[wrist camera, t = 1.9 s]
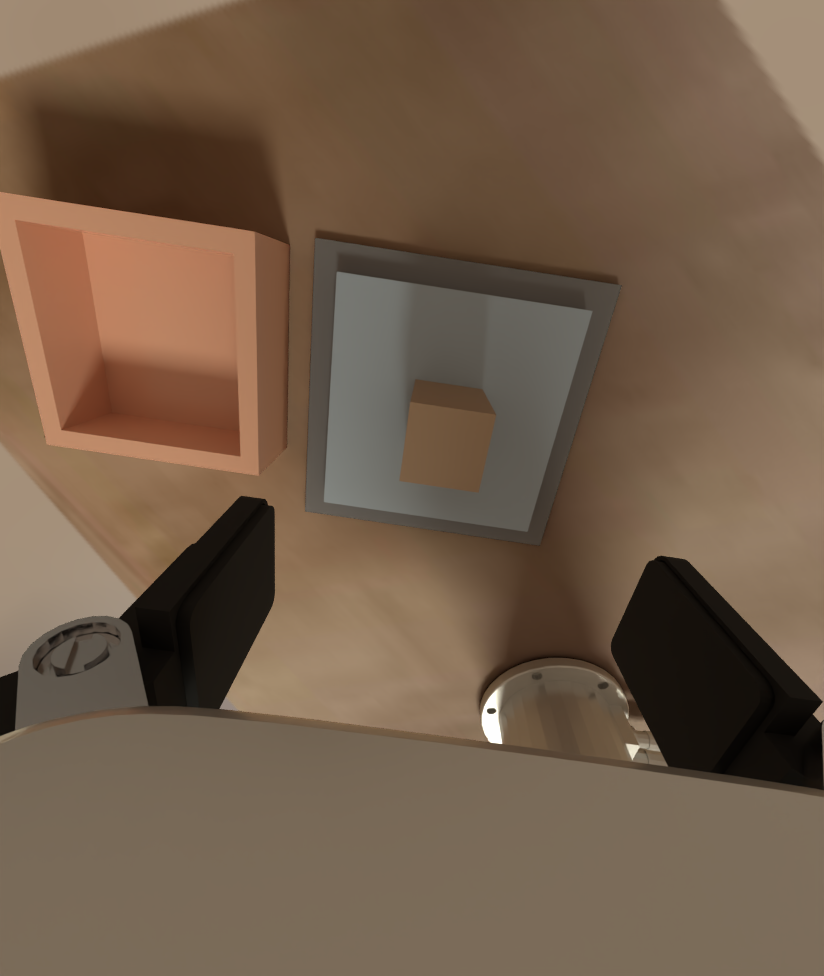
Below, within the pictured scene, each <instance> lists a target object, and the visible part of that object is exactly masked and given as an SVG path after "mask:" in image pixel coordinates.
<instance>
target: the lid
mask: <svg viewBox="0 0 824 976" xmlns="http://www.w3.org/2000/svg"><path fill="white" fill-rule="evenodd" d="M592 312H593V311H589V310H583V309H576V308H570V307H563V306H557V305H550V304H544V303H538V302H531V301H525V300H518V299H512V298H505V297H499V296H492V295H486V294H479V293H473V292H466V291H460V290H453V289H447V288H440V287H434V286H427V285H421V284H414V283H408V282H401V281H395V280H388V279H382V278H375V277H369V276H362V275H356V274H349V273H343V272H337V276H336V294H335V312H334V329H333V347H332V365H331V382H330V400H329V418H328V436H327V453H326V471H325V489H324V502H327V503H334V504H341V505H348V506H354V507H361V508H368V509H375V510H382V511H388V512H395V513H402V514H409V515H416V516H423V517H429V518H436V519H443V520H450V521H457V522H464V523H470V524H477V525H484V526H491V527H498V528H505V529H511V530H518V531H525V532H527V531H528V528H529V525H530V521H531V518H532V514H533V511H534V508H535V504H536V501H537V498H538V494H539V491H540V487H541V484H542V481H543V477H544V474H545V471H546V467H547V464H548V460H549V457H550V454H551V450H552V447H553V443H554V440H555V437H556V433H557V430H558V427H559V423H560V420H561V416H562V413H563V410H564V406H565V403H566V400H567V396H568V393H569V389H570V386H571V383H572V379H573V376H574V372H575V369H576V366H577V362H578V359H579V356H580V352H581V349H582V345H583V342H584V339H585V335H586V332H587V329H588V325H589V322H590V318H591V315H592Z"/></svg>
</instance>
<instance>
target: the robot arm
mask: <svg viewBox="0 0 824 976" xmlns="http://www.w3.org/2000/svg"><path fill="white" fill-rule="evenodd" d="M274 596H275V515H274V507H273V506H268V504H267V501H266V500H265V499H260V498H253V497H246V496H241V497H239V498H238V499H237V500H236V501H235V502H234V504H233V505H232V506H231V507H230V508H229V509H228V510H227V511H226V512H225V513H224V514H223V515H222V516H221V517H220V518H219V519H218V520H217V521H216V522H215V523H214V524H213V526H212V527H211V528H210V529H209V530H208V531H207V532H206V533H205V534H204V535H203V536H202V537H201V538H200V539H199V540H198V541H197V542H196V543H195V544H191V545H190V546H189V547H188V548H186V550H185V551H184V552H183V553H182V554H181V555H180V556H179V557H178V558H177V559H176V560H175V561H174V562H173V563H172V564H171V565H170V566H169V567H168V568H167V569H166V570H165V571H164V572H163V573H162V574H161V575H160V576H159V577H158V578H157V579H156V580H155V581H154V583H153V584H152V585H151V586H150V587H149V588H148V589H147V590H146V591H145V592H144V593H143V594H142V595H141V596H140V597H139V598H138V599H137V600H136V601H135V602H134V603H133V604H132V605H131V606H130V607H129V608H128V609H127V610H126V611H125V612H124V613H123V615H122V616H121V617H120V618H114V617H109V616H92V617H87V618H82V619H77V620H74V621H71V622H68V623H65V624H63V625H60V626H58V627H56V628H54V629H52V630H51V631H49V632H47V633H45V634H43V635H42V636H41V637H40V638H38V639H37V640H36V641H35V642H33V643H32V644H31V645H30V646H29V648H28V649H27V650H26V651H25V652H24V654H23V655H22V658H21V661H20V664H19V670H18V671H17V672H14V673H11V674H8V675H5V676H3V677H0V976H824V720H823V721H822V722H821V723H820V722H819V721H818V720H817V719H816V717H815V716H814V715H813V713H814V712H815V711H816V709H817V708H818V707H819V706H820V705H821V703H822V702H823V701H822V700H821V699H820V698H819V697H818V696H817V695H816V694H815V693H814V692H813V691H812V690H811V689H810V688H809V687H808V686H807V685H806V684H805V683H804V682H803V681H802V680H801V679H800V678H799V676H798V675H797V674H796V673H795V672H794V671H793V670H792V669H791V668H790V667H789V666H788V665H787V664H786V663H785V662H784V661H783V660H782V659H781V658H780V657H779V656H778V655H777V654H776V652H775V651H774V650H773V649H772V648H771V647H770V646H769V645H768V644H767V643H766V642H765V641H764V640H763V639H762V638H761V637H760V636H759V635H758V634H757V633H756V632H755V631H754V630H753V629H752V627H751V626H750V625H749V624H748V623H747V622H746V621H745V620H744V619H743V618H742V617H741V616H740V615H739V614H738V613H737V612H736V611H735V610H734V609H733V608H732V607H731V606H730V605H729V603H728V602H727V601H726V600H725V599H724V598H723V597H722V596H721V595H720V594H719V593H718V592H717V591H716V590H715V589H714V588H713V587H712V586H711V585H710V584H709V583H708V582H707V581H706V580H705V578H704V577H703V576H702V575H701V574H700V573H699V572H698V571H697V570H696V569H695V568H694V567H693V566H692V565H691V564H690V563H689V562H688V561H687V560H685V559H680V558H673V557H666V556H658V557H657V558H655V559H654V561H653V560H652V561H649V562H648V563H647V565H646V567H645V569H644V571H643V573H642V576H641V578H640V580H639V582H638V584H637V587H636V589H635V591H634V593H633V595H632V597H631V600H630V602H629V604H628V606H627V608H626V611H625V613H624V615H623V617H622V619H621V621H620V624H619V626H618V628H617V630H616V632H615V635H614V637H613V639H612V642H611V651H612V655H613V657H614V659H615V661H616V663H617V665H618V667H619V669H620V671H621V673H622V675H623V677H624V679H625V681H626V683H627V685H628V687H629V689H630V691H631V693H632V695H633V697H634V699H635V701H636V703H637V705H638V707H639V709H640V711H641V713H642V715H643V717H644V719H645V721H646V723H647V725H648V727H649V729H650V731H651V732H650V731H637V730H635V729H634V728H633V727H632V726H630V724H629V722H628V718H629V706H628V702H627V699H626V696H625V694H624V692H623V690H622V688H621V686H620V685H619V683H618V682H617V681H616V680H615V678H614V677H613V676H611V675H610V674H609V673H608V672H606V671H605V670H604V669H602V668H600V667H598V666H596V665H594V664H591V663H588V662H585V661H581V660H576V659H569V658H545V659H538V660H533V661H530V662H526V663H523V664H520V665H518V666H516V667H514V668H511V669H509V670H508V671H506V672H505V673H503V674H502V675H500V676H499V677H498V678H497V679H496V680H495V681H493V682H492V683H491V684H490V686H489V687H488V689H487V690H486V692H485V693H484V695H483V698H482V700H481V704H480V718H481V726H482V729H483V732H484V734H485V736H486V737H487V739H488V740H489V742H484V741H476V740H469V739H461V738H454V737H446V736H439V735H431V734H423V733H415V732H407V731H400V730H392V729H384V728H376V727H368V726H361V725H353V724H345V723H337V722H329V721H321V720H314V719H305V718H296V717H287V716H278V715H269V714H260V713H251V712H242V711H233V710H224V709H219V708H220V706H221V704H222V703H223V700H224V699H225V697H226V695H227V693H228V691H229V689H230V687H231V685H232V683H233V681H234V679H235V677H236V675H237V673H238V671H239V670H240V668H241V666H242V664H243V662H244V660H245V658H246V656H247V654H248V652H249V650H250V648H251V646H252V644H253V642H254V640H255V638H256V637H257V635H258V633H259V631H260V629H261V627H262V625H263V623H264V621H265V619H266V617H267V615H268V613H269V611H270V609H271V607H272V604H273V601H274Z"/></svg>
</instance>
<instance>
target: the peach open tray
mask: <svg viewBox="0 0 824 976" xmlns="http://www.w3.org/2000/svg"><path fill="white" fill-rule="evenodd" d="M0 249H1V254H2V258H3V262H4V266H5V270H6V274H7V279H8V283H9V287H10V291H11V295H12V300H13V304H14V308H15V312H16V316H17V320H18V325H19V329H20V333H21V337H22V341H23V346H24V350H25V354H26V358H27V362H28V366H29V371H30V375H31V379H32V383H33V387H34V392H35V396H36V400H37V404H38V408H39V412H40V417H41V421H42V425H43V429H44V433H45V438H46V442H47V445H54V446H60V447H67V448H74V449H81V450H88V451H94V452H101V453H108V454H115V455H122V456H128V457H135V458H142V459H149V460H156V461H163V462H169V463H176V464H183V465H190V466H197V467H203V468H210V469H217V470H224V471H231V472H237V473H244V474H251V475H258V476H259V475H260V474H261V473H262V472H263V471H264V470H265V469H266V468H267V467H268V466H269V465H270V464H271V463H272V462H273V461H274V460H275V459H276V458H277V457H278V456H279V455H280V454H281V453H282V452H283V451H284V450H285V449H286V448H287V413H288V343H289V273H290V245H289V244H286V243H283V242H281V241H278V240H276V239H273V238H270V237H268V236H265V235H262V234H260V233H257V232H254V231H248V230H241V229H235V228H228V227H222V226H215V225H209V224H202V223H196V222H190V221H183V220H177V219H170V218H164V217H157V216H151V215H144V214H138V213H131V212H125V211H119V210H112V209H106V208H99V207H93V206H86V205H80V204H73V203H67V202H60V201H54V200H47V199H41V198H35V197H28V196H22V195H15V194H9V193H2V192H0Z"/></svg>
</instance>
